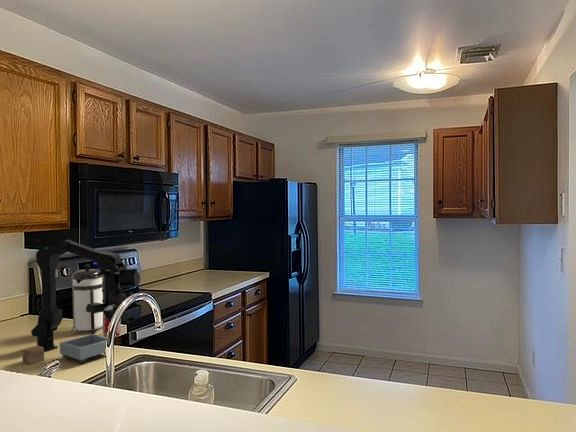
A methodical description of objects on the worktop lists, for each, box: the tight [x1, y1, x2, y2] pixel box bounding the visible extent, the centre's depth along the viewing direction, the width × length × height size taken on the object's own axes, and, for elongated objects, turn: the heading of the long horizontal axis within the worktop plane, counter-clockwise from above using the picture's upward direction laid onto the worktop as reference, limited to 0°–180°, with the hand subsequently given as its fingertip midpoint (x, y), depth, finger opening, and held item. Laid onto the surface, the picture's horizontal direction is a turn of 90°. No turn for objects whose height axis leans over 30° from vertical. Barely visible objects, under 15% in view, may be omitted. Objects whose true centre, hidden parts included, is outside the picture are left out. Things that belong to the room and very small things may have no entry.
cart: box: [59, 333, 107, 364], centre depth 164 cm, size 13×13×6 cm
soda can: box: [102, 313, 122, 338], centre depth 190 cm, size 7×7×12 cm
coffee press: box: [70, 263, 104, 335], centre depth 200 cm, size 17×16×30 cm
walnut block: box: [21, 344, 45, 366], centre depth 160 cm, size 5×5×5 cm
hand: (112, 326), depth 173 cm, fingers closed
